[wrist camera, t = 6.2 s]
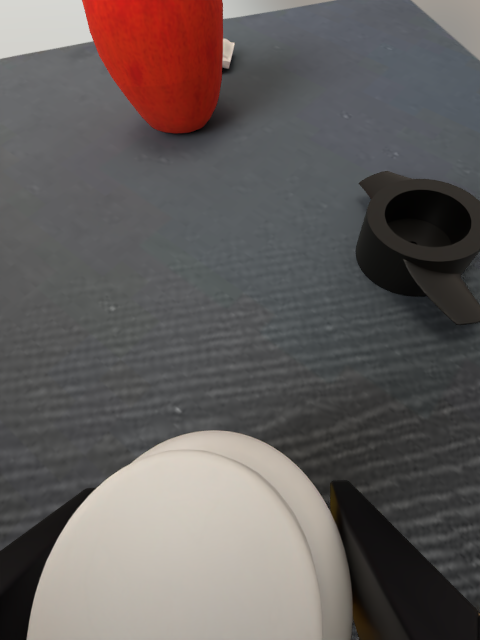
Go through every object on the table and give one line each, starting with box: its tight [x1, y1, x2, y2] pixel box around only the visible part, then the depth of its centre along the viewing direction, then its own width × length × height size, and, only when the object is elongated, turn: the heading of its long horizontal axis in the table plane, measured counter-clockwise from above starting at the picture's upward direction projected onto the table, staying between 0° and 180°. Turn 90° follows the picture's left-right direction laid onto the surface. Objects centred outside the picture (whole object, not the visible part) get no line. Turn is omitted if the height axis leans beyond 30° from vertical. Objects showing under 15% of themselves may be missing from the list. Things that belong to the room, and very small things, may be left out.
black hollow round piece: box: [356, 171, 480, 325], centre depth 18 cm, size 8×10×3 cm
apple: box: [82, 0, 223, 133], centre depth 24 cm, size 9×9×11 cm
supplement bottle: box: [27, 430, 353, 640], centre depth 9 cm, size 6×6×10 cm
